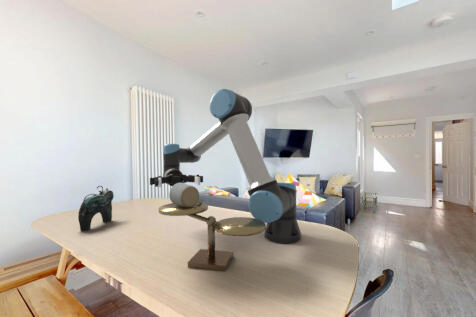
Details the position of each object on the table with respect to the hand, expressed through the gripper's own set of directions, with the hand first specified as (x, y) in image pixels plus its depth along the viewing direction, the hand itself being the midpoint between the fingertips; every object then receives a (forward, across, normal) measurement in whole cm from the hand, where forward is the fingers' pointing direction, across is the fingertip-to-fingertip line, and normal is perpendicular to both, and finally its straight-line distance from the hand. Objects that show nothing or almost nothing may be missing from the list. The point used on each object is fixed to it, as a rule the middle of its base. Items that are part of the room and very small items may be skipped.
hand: (180, 182), depth 78 cm
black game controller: (-51, +35, -26) cm, 67 cm away
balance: (+11, -8, -25) cm, 29 cm away
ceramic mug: (+5, -2, -8) cm, 9 cm away
